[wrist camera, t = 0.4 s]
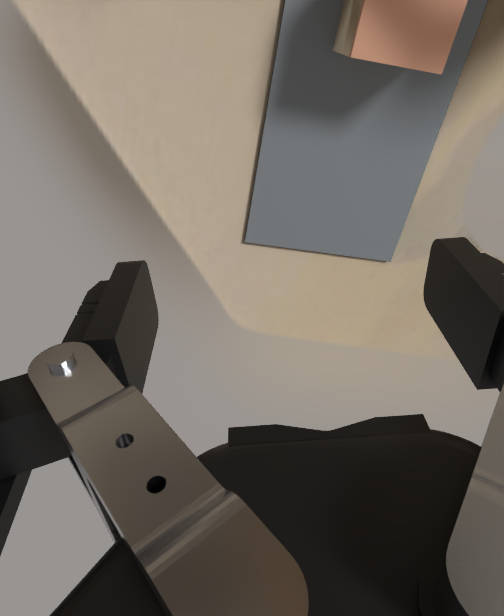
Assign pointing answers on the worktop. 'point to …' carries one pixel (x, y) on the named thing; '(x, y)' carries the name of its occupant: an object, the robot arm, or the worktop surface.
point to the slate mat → (345, 138)
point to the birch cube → (400, 31)
